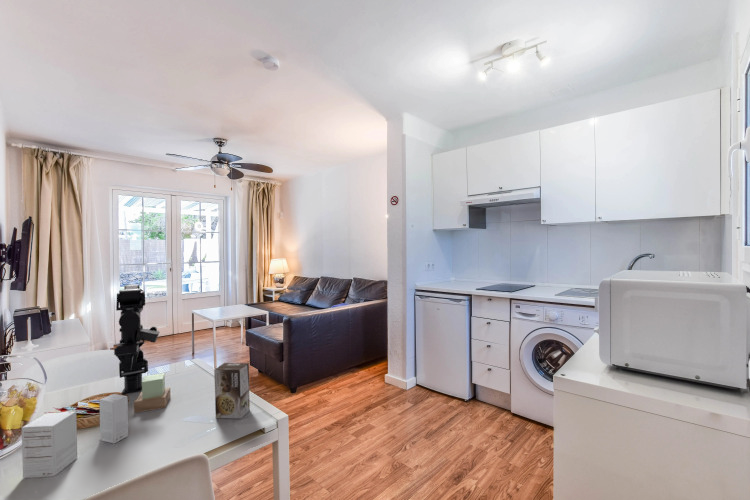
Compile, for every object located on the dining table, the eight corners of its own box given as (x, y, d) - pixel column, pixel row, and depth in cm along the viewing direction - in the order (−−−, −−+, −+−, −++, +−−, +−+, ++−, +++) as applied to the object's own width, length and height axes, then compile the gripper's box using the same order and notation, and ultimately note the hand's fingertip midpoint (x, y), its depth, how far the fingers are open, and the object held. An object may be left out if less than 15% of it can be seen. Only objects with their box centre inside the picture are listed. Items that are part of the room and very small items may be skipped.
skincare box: (129, 436, 98) (128, 395, 98) (113, 444, 94) (112, 402, 94) (115, 432, 100) (114, 393, 100) (99, 440, 96) (98, 399, 96)
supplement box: (48, 459, 87) (47, 412, 87) (78, 457, 88) (77, 410, 88) (21, 479, 80) (20, 427, 80) (54, 477, 81) (53, 425, 80)
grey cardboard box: (250, 409, 113) (249, 362, 113) (241, 419, 107) (240, 369, 107) (225, 408, 114) (224, 362, 114) (214, 418, 108) (213, 369, 107)
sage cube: (145, 392, 119) (145, 376, 119) (164, 389, 122) (164, 373, 122) (142, 399, 114) (141, 382, 114) (162, 395, 117) (162, 378, 117)
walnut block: (142, 402, 121) (141, 391, 120) (170, 397, 124) (170, 387, 124) (134, 413, 112) (134, 402, 112) (165, 408, 115) (164, 397, 115)
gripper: (153, 326, 114) (154, 371, 114) (160, 316, 131) (161, 356, 131) (113, 330, 109) (114, 377, 109) (126, 320, 126) (126, 360, 126)
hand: (131, 367), depth 119 cm, fingers open, 9 cm apart
